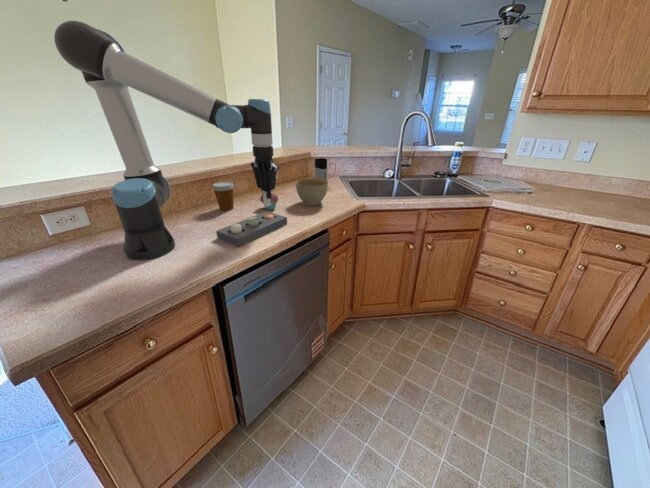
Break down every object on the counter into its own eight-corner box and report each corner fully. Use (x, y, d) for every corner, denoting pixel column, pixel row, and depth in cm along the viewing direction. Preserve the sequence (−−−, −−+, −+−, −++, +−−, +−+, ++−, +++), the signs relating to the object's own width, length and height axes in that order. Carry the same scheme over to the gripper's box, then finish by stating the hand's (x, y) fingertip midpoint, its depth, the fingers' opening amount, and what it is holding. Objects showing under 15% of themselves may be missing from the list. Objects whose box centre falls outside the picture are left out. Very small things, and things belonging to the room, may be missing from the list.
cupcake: (282, 207, 138) (281, 183, 133) (268, 212, 133) (266, 187, 127) (271, 203, 143) (269, 180, 138) (257, 207, 138) (255, 183, 132)
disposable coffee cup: (230, 212, 132) (227, 187, 126) (212, 211, 133) (207, 186, 128) (240, 206, 140) (237, 182, 134) (222, 204, 142) (218, 180, 136)
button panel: (238, 246, 101) (237, 239, 100) (217, 238, 107) (216, 230, 106) (287, 223, 121) (286, 217, 119) (267, 217, 127) (266, 211, 125)
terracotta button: (269, 226, 118) (268, 218, 116) (262, 224, 120) (261, 216, 118) (276, 223, 121) (275, 215, 119) (269, 221, 123) (268, 213, 121)
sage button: (253, 230, 111) (252, 221, 109) (246, 227, 113) (245, 219, 111) (261, 226, 114) (260, 218, 112) (254, 224, 116) (253, 216, 114)
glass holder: (317, 181, 183) (317, 157, 176) (338, 184, 178) (338, 159, 171) (311, 184, 176) (311, 160, 169) (332, 187, 171) (333, 162, 164)
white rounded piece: (236, 237, 105) (234, 228, 103) (229, 234, 107) (227, 226, 105) (244, 233, 108) (243, 225, 106) (237, 231, 110) (236, 223, 108)
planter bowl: (302, 210, 136) (302, 187, 131) (292, 200, 149) (291, 179, 144) (333, 205, 142) (333, 184, 137) (320, 196, 155) (320, 176, 150)
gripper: (282, 145, 105) (285, 206, 116) (257, 142, 112) (262, 200, 123) (268, 148, 100) (272, 211, 110) (242, 144, 106) (249, 204, 117)
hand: (267, 205), depth 116 cm, fingers closed
